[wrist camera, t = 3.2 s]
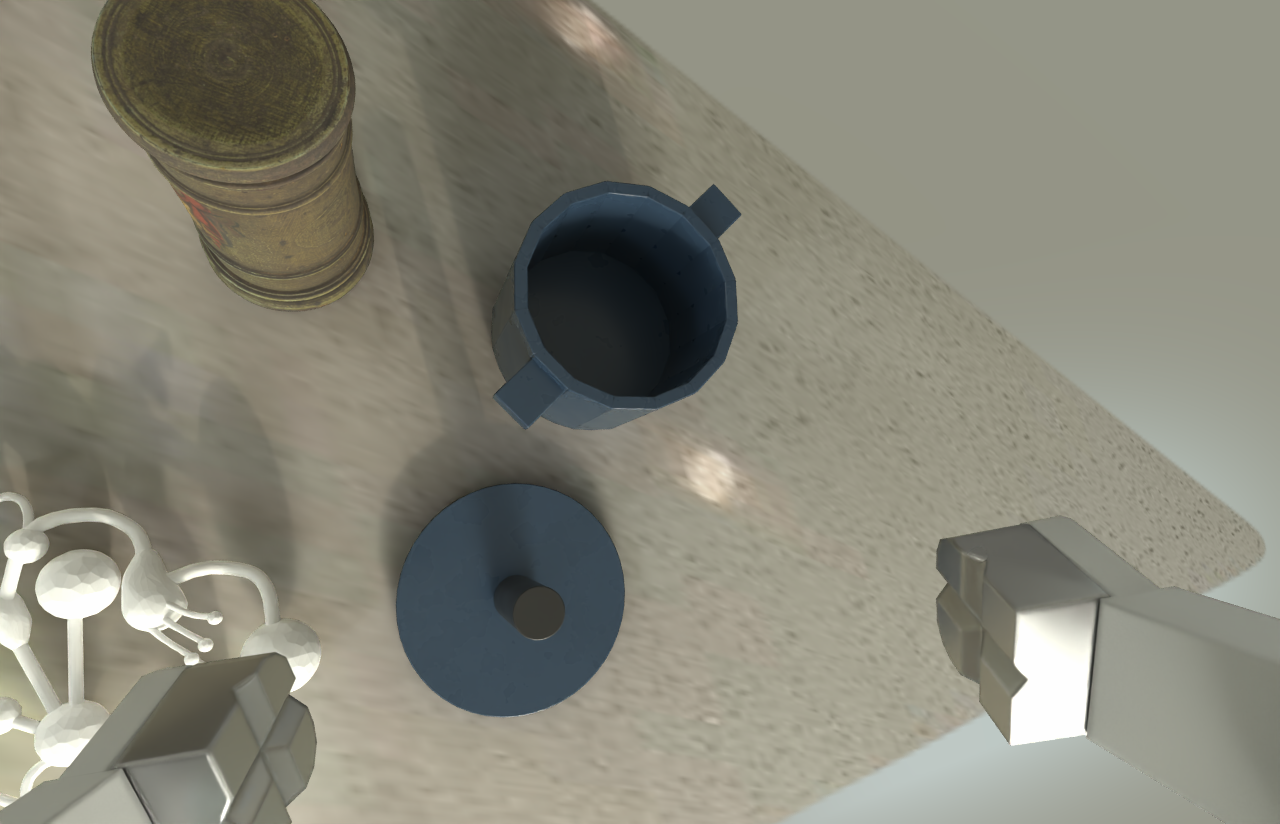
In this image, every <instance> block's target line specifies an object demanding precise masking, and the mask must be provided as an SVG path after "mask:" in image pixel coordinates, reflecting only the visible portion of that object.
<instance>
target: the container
mask: <svg viewBox="0 0 1280 824" xmlns="http://www.w3.org/2000/svg"><path fill="white" fill-rule="evenodd" d="M91 60H92V68H93V73H94V77H95V81H96V85H97V88H98V90H99V93H100V95H101V97H102V100H103V102H104V103H105V105H106V107H107V109H108V110H109V112H110V113H111V115H112V116H113V118H114V119H115V121H116V122H117V123H118V124H119V126H120V127H121V128H122V129H123V130H124V132H125V133H126V134H127V135H128V136H129V137H130V138H131V139H132V140H133V141H134V142H136V143H137V144H138V145H139V146H140V147H141V148H142V149H144V150H145V151H146V152H147V154H148V156H149V158H150V159H151V161H152V163H153V164H154V166H155V167H156V168H157V169H158V171H159V172H160V173H161V174H162V175H163V176H164V177H165V178H166V179H167V180H168V181H169V183H170V184H171V186H172V188H173V189H174V191H175V192H176V194H177V195H178V197H179V198H180V200H181V201H182V203H183V204H184V206H185V207H186V209H187V211H188V212H189V214H190V215H191V217H192V219H193V222H194V224H195V227H196V229H197V231H198V233H199V238H200V242H201V244H202V247H203V249H204V251H205V253H206V256H207V258H208V260H209V262H210V265H211V266H212V268H213V270H214V271H215V273H216V274H217V275H218V277H219V278H220V279H221V280H222V281H223V282H224V283H225V285H227V286H228V287H229V288H230V289H231V290H232V291H234V292H235V293H236V294H238V295H239V296H241V297H242V298H244V299H246V300H248V301H250V302H252V303H254V304H256V305H259V306H262V307H265V308H269V309H273V310H279V311H306V310H311V309H316V308H319V307H322V306H325V305H327V304H330V303H332V302H334V301H336V300H337V299H339V298H341V297H342V296H344V295H345V294H346V293H347V292H349V291H350V290H351V289H352V288H353V287H354V286H355V285H356V284H357V283H358V281H359V280H360V279H361V277H362V276H363V274H364V273H365V271H366V269H367V267H368V265H369V262H370V259H371V256H372V251H373V243H374V232H373V225H372V220H371V217H370V213H369V208H368V205H367V202H366V200H365V197H364V195H363V193H362V191H361V187H360V184H359V181H358V179H357V176H356V174H355V167H354V159H353V151H352V119H351V115H352V112H353V108H354V102H355V77H354V71H353V67H352V63H351V59H350V57H349V54H348V51H347V48H346V46H345V44H344V42H343V40H342V38H341V36H340V35H339V33H338V31H337V29H336V28H335V27H334V25H333V24H332V22H331V21H330V20H329V18H328V17H327V16H326V15H325V13H324V12H323V11H322V10H321V9H320V8H319V7H318V6H317V5H316V4H315V3H314V2H313V1H312V0H107V2H106V4H105V5H104V7H103V8H102V10H101V12H100V14H99V17H98V19H97V22H96V25H95V28H94V32H93V37H92V46H91Z"/></svg>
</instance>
